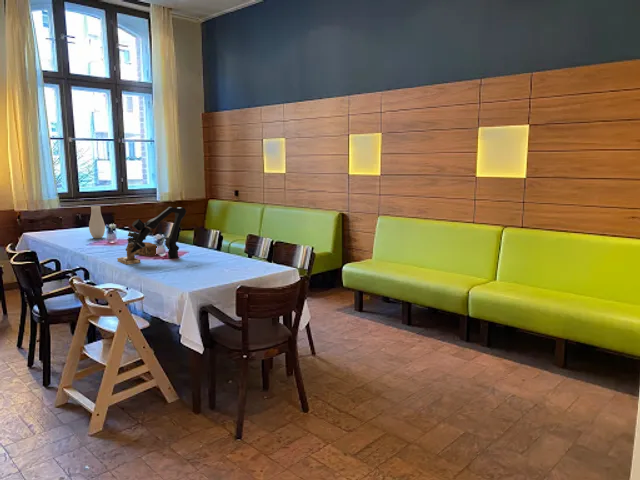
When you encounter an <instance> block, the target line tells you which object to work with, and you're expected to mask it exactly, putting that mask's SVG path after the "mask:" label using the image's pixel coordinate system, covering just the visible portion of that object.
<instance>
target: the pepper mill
mask: <svg viewBox="0 0 640 480" xmlns="http://www.w3.org/2000/svg"><path fill="white" fill-rule="evenodd" d="M127 246H128V247H127ZM127 246H126V248H127V251H126V257H127V261H132V260H135V258H136V254H135V252H133V253H131V250H132V249H133V244H132V243H129V244H128V243H127Z"/></svg>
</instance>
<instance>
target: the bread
mask: <svg viewBox="0 0 640 480" xmlns="http://www.w3.org/2000/svg"><path fill="white" fill-rule="evenodd" d="M142 242H143V243H145V247H144V248H141V249H139V250H137V251H135V255H138V256H146V257H153V256H156V255H155V254H156V248H157V246H158V245H157V244H156V243H152V242H147V241H142ZM156 245H157V246H156Z"/></svg>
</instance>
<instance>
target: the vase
mask: <svg viewBox="0 0 640 480" xmlns="http://www.w3.org/2000/svg"><path fill="white" fill-rule="evenodd" d="M90 210H91V212H90V213H91V214H90V218H89V219H90V220H89V222H88V231H89V233H90V236H91V237H92V238H93V239H102V238H103V236H104V234H105V231H106V224H105V221H104V218H103V216H102V212H101V211H102V210H101V205H97V206H95V205H94V206H90Z"/></svg>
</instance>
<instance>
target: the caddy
mask: <svg viewBox="0 0 640 480" xmlns="http://www.w3.org/2000/svg"><path fill="white" fill-rule="evenodd" d="M125 257H126V256H123V257H117V262H119V263H122V264H124V265H125V266H127V265H132V264H133V265H134V264H140V263H141V259H140V258H137V257H135V260H132V261H127V259H123V258H125Z"/></svg>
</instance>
